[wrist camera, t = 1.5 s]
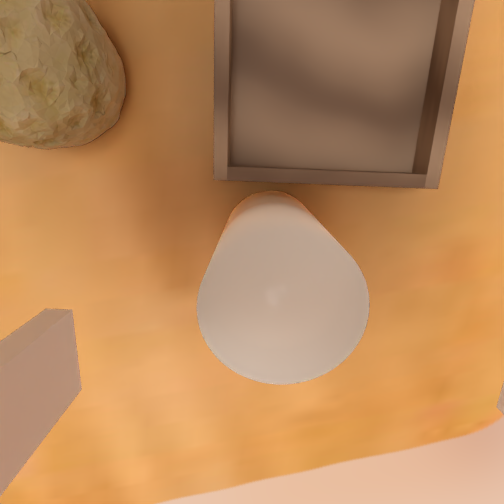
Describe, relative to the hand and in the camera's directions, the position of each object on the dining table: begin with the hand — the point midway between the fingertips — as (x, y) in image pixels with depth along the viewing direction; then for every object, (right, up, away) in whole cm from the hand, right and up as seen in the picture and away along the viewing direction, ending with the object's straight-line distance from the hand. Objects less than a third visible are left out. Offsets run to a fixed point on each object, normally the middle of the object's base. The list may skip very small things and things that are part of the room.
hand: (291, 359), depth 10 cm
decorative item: (-14, +15, +11) cm, 23 cm away
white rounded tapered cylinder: (0, +4, +14) cm, 15 cm away
